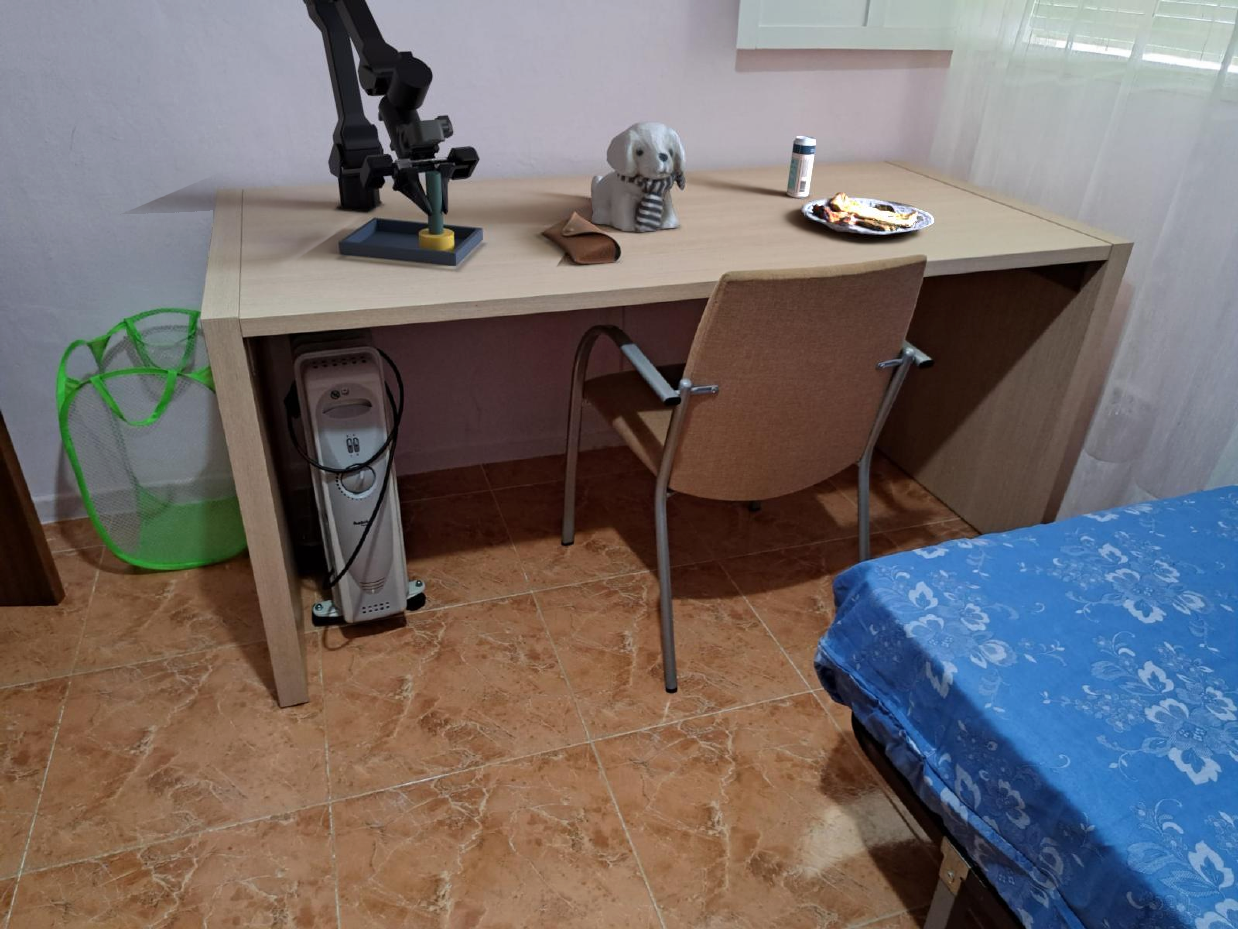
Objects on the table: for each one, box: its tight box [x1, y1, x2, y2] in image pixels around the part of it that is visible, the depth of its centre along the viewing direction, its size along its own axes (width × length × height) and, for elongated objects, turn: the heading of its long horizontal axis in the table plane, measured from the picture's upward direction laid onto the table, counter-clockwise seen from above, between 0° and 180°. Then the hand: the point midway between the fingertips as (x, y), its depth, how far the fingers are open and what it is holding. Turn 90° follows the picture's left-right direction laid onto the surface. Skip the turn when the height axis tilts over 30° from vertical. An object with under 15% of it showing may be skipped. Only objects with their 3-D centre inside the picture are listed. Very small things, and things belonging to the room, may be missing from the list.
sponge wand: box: [419, 171, 455, 252], centre depth 145 cm, size 6×6×13 cm
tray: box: [338, 217, 484, 267], centre depth 151 cm, size 20×15×3 cm
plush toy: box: [590, 121, 687, 233], centre depth 170 cm, size 18×25×18 cm
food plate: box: [800, 192, 934, 236], centre depth 177 cm, size 25×23×4 cm
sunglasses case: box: [540, 211, 622, 265], centre depth 156 cm, size 18×7×7 cm
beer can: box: [786, 135, 817, 199], centre depth 192 cm, size 5×5×12 cm
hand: (438, 214), depth 144 cm, fingers closed on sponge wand, 2 cm apart
